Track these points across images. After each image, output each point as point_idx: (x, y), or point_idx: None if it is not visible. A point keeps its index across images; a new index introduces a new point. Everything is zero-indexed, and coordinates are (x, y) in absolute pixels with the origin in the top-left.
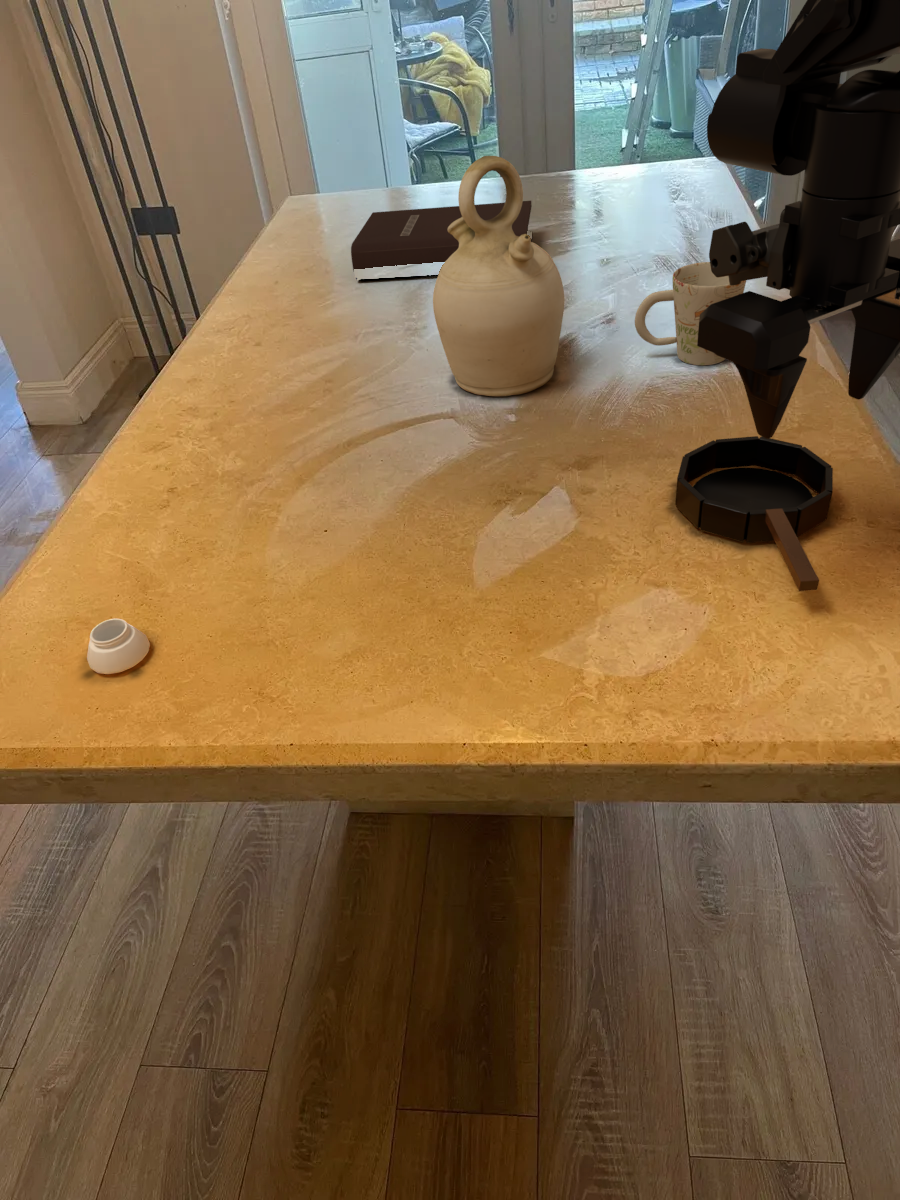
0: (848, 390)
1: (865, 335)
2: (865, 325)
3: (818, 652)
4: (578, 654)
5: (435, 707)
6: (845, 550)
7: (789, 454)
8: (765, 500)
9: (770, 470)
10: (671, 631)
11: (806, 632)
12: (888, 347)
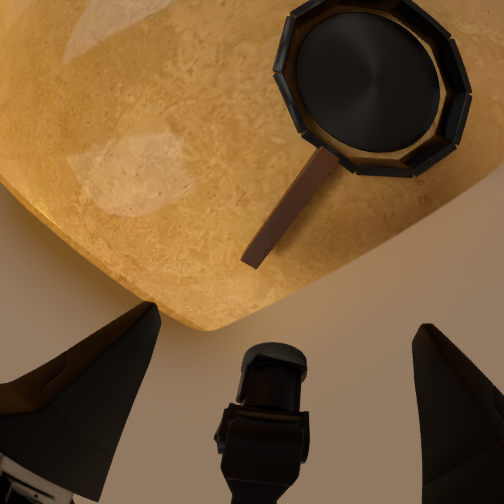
0: (426, 328)
1: (469, 444)
2: (481, 460)
3: (231, 274)
4: (84, 171)
5: (20, 169)
6: (370, 208)
7: (456, 81)
8: (382, 95)
9: (433, 66)
10: (148, 188)
11: (241, 256)
12: (428, 463)
